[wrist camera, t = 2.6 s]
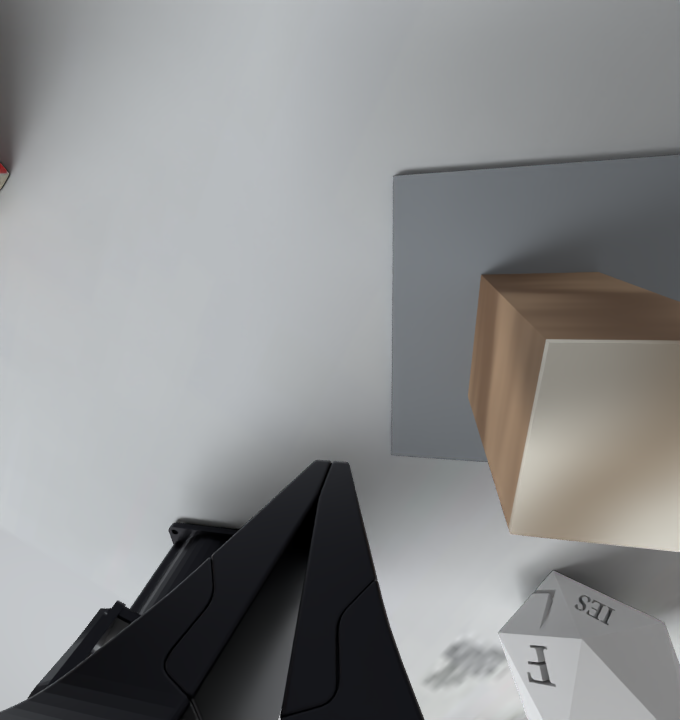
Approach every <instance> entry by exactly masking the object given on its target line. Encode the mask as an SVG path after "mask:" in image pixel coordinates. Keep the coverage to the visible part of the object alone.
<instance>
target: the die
mask: <svg viewBox="0 0 680 720" xmlns="http://www.w3.org/2000/svg"><path fill="white" fill-rule="evenodd" d="M498 635H499V638H500V641H501V644H502V647H503V650H504V653H505V655H506V658H507V661H508V664H509V667H510V670H511V673H512V676H513V679H514V682H515V684H516V687H517V690H518V693H519V696H520V699H521V702H522V705H523V708H524V711H525V713H526V716H527V718H528V719H529V720H680V664H679V661H678V659H677V656H676V653H675V650H674V648H673V645H672V642H671V639H670V636H669V634H668V631H667V628H666V625H665V623H664V622H662V621H660V620H658V619H656V618H654V617H652V616H649V615H647V614H645V613H643V612H641V611H639V610H637V609H635V608H632V607H630V606H628V605H626V604H624V603H622V602H620V601H617V600H615V599H613V598H611V597H609V596H607V595H605V594H603V593H600V592H598V591H596V590H594V589H592V588H590V587H588V586H585V585H583V584H581V583H579V582H577V581H575V580H573V579H570V578H568V577H566V576H564V575H562V574H560V573H558V572H556V571H552V572H551V573H550V574H549V575H548V577H547V578H546V579H545V580H544V581H543V582H542V583H541V584H540V586H539V587H538V588H537V589H536V590H535V592H534V593H533V594H532V595H531V596H530V597H529V598H528V599H527V600H526V601H525V602H524V604H523V605H522V606H521V607H520V608H519V609H518V610H517V612H516V613H515V614H514V615H513V616H512V617H511V618H510V619H509V621H508V622H507V623H506V624H505V625H504V626H503V627H502V628H501V630H500V631H499V632H498Z"/></svg>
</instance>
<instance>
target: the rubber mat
mask: <svg viewBox="0 0 680 720" xmlns="http://www.w3.org/2000/svg"><path fill="white" fill-rule="evenodd" d="M578 272H600V273H603V274H605V275H608V276H611V277H613V278H616V279H619V280H622V281H624V282H627V283H630V284H633V285H635V286H638V287H641V288H643V289H646V290H649V291H652V292H654V293H657V294H660V295H662V296H665V297H668V298H671V299H673V300H676V301H679V302H680V155H668V156H654V157H641V158H627V159H614V160H600V161H587V162H573V163H560V164H546V165H533V166H519V167H506V168H493V169H479V170H466V171H452V172H439V173H425V174H412V175H398V176H393V297H392V448H391V455H396V456H410V457H424V458H438V459H452V460H466V461H479V462H488V460H487V457H486V454H485V451H484V447H483V444H482V441H481V438H480V434H479V431H478V428H477V425H476V421H475V418H474V415H473V412H472V408H471V405H470V402H469V399H468V390H469V381H470V372H471V363H472V353H473V344H474V335H475V326H476V317H477V308H478V298H479V289H480V280H481V275H486V274H532V273H578Z"/></svg>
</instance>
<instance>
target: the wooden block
mask: <svg viewBox="0 0 680 720" xmlns="http://www.w3.org/2000/svg"><path fill="white" fill-rule="evenodd" d="M468 399H469V402H470V405H471V408H472V412H473V415H474V418H475V421H476V425H477V428H478V431H479V434H480V438H481V441H482V444H483V447H484V451H485V454H486V457H487V460H488V464H489V467H490V470H491V473H492V477H493V480H494V483H495V486H496V490H497V493H498V496H499V499H500V503H501V506H502V509H503V512H504V516H505V519H506V522H507V525H508V529H509V532H510V534H513V535H522V536H532V537H541V538H551V539H560V540H569V541H579V542H588V543H598V544H607V545H617V546H626V547H635V548H645V549H654V550H664V551H673V552H680V302H679V301H676V300H673V299H671V298H668V297H665V296H662V295H660V294H657V293H654V292H652V291H649V290H646V289H643V288H641V287H638V286H635V285H633V284H630V283H627V282H624V281H622V280H619V279H616V278H613V277H611V276H608V275H605V274H603V273H600V272H578V273H532V274H486V275H481V280H480V289H479V298H478V308H477V317H476V326H475V335H474V344H473V353H472V363H471V372H470V381H469V390H468Z"/></svg>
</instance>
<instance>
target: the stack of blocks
mask: <svg viewBox="0 0 680 720" xmlns="http://www.w3.org/2000/svg"><path fill="white" fill-rule="evenodd" d="M8 175H9V173H8V172H7V170H6V169H5V168H4V167H3V166H2V164H1V163H0V189H1V188H2V186H3V184H4V183H5V181H6V179H7V177H8Z"/></svg>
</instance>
